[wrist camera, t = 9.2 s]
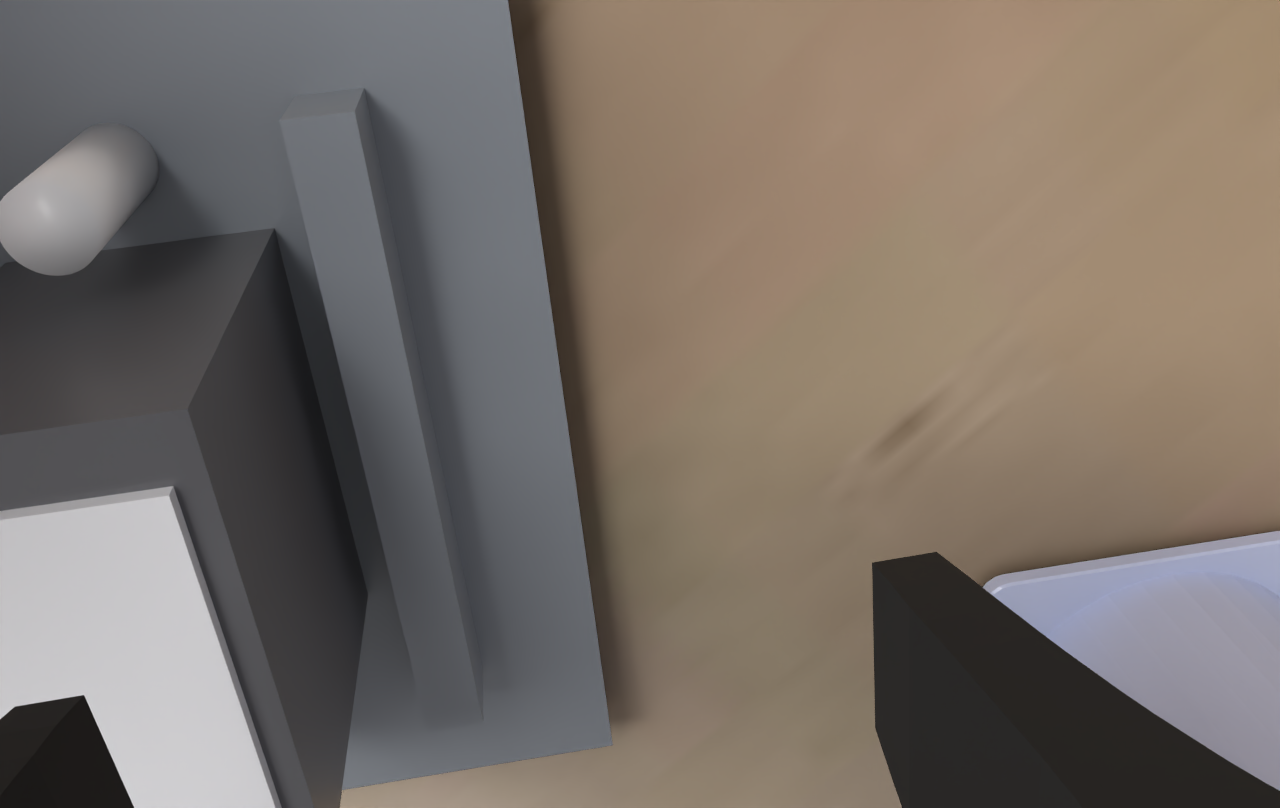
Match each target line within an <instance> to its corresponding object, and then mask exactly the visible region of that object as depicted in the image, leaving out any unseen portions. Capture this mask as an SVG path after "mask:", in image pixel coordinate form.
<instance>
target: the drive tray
mask: <svg viewBox="0 0 1280 808" xmlns="http://www.w3.org/2000/svg"><path fill="white" fill-rule="evenodd" d="M271 228H275V232H276V236H277V240H278V244H279V248H280V252H281V256H282V260H283V264H284V267H285V271H286V275H287V279H288V283H289V287H290V291H291V295H292V299H293V303H294V307H295V310H296V314H297V318H298V322H299V326H300V330H301V334H302V338H303V342H304V346H305V350H306V353H307V357H308V361H309V365H310V369H311V373H312V377H313V381H314V385H315V389H316V393H317V396H318V400H319V404H320V408H321V412H322V416H323V420H324V424H325V428H326V432H327V436H328V439H329V443H330V447H331V451H332V455H333V459H334V463H335V467H336V471H337V475H338V479H339V482H340V486H341V490H342V494H343V498H344V502H345V506H346V510H347V514H348V518H349V522H350V525H351V529H352V533H353V537H354V541H355V545H356V549H357V553H358V557H359V561H360V565H361V568H362V572H363V576H364V580H365V584H366V588H367V592H368V600H367V607H366V615H365V622H364V630H363V637H362V644H361V652H360V659H359V667H358V674H357V681H356V689H355V696H354V704H353V711H352V719H351V726H350V733H349V741H348V748H347V756H346V763H345V770H344V778H343V785H342V790H344V789H350V788H357V787H363V786H369V785H375V784H381V783H387V782H393V781H399V780H405V779H411V778H417V777H423V776H429V775H435V774H441V773H448V772H454V771H460V770H466V769H472V768H478V767H484V766H490V765H496V764H502V763H508V762H514V761H520V760H526V759H532V758H539V757H545V756H551V755H557V754H563V753H569V752H575V751H581V750H587V749H593V748H599V747H605V746H611V745H613V744H612V737H611V730H610V723H609V716H608V708H607V701H606V694H605V687H604V680H603V673H602V666H601V659H600V652H599V644H598V637H597V630H596V623H595V616H594V609H593V602H592V595H591V588H590V580H589V573H588V566H587V559H586V552H585V545H584V538H583V531H582V524H581V516H580V509H579V502H578V495H577V488H576V481H575V474H574V467H573V460H572V452H571V445H570V438H569V431H568V424H567V417H566V410H565V403H564V396H563V388H562V381H561V374H560V367H559V360H558V353H557V346H556V339H555V332H554V324H553V317H552V310H551V303H550V296H549V289H548V282H547V275H546V268H545V260H544V253H543V246H542V239H541V232H540V225H539V218H538V211H537V204H536V196H535V189H534V182H533V175H532V168H531V161H530V154H529V147H528V140H527V132H526V125H525V118H524V111H523V104H522V97H521V90H520V83H519V76H518V68H517V61H516V54H515V47H514V40H513V33H512V26H511V19H510V12H509V4H508V0H0V268H1V267H2V266H3V265H4V264H5V263H8V262H16V261H17V262H18V263H20V264H21V265H23V266H24V267H26V268H28V269H30V270H32V271H35V272H37V273H41V274H45V275H51V276H63V275H69V274H72V273H75V272H78V271H80V270H82V269H83V268H85V267H86V266H87V265H88V264H89V263H91V261H92V260H93V259H94V258H95V257H96V256H97V254H98V253H99V252H100V251H101V250H109V249H116V248H124V247H132V246H139V245H147V244H155V243H163V242H170V241H178V240H186V239H193V238H201V237H209V236H217V235H224V234H232V233H240V232H248V231H255V230H263V229H271Z"/></svg>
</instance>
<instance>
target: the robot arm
mask: <svg viewBox="0 0 1280 808" xmlns="http://www.w3.org/2000/svg"><path fill="white" fill-rule="evenodd" d="M872 573H873V626H874V679H875V728H876V731H877V734H878V737H879V740H880V743H881V746H882V749H883V752H884V755H885V758H886V761H887V764H888V767H889V770H890V773H891V776H892V779H893V782H894V785H895V788H896V791H897V794H898V797H899V799H900V802H901V805H902V808H1280V531H1274V532H1268V533H1261V534H1255V535H1249V536H1242V537H1236V538H1230V539H1223V540H1217V541H1211V542H1204V543H1198V544H1192V545H1185V546H1179V547H1173V548H1166V549H1160V550H1154V551H1147V552H1141V553H1135V554H1128V555H1122V556H1116V557H1109V558H1103V559H1097V560H1090V561H1084V562H1078V563H1071V564H1065V565H1059V566H1052V567H1046V568H1040V569H1033V570H1027V571H1021V572H1014V573H1008V574H1003V575H999V576H996V577H994V578H992V579H991V580H989V581H988V582H987V583H986V584H985V585H984V586H983V588H982V587H981V586H980V585H979V584H977V583H976V582H975V581H973V580H972V579H971V578H970V577H968V576H967V575H966V574H964V573H963V572H962V571H961V570H959V569H958V568H957V567H955V566H954V565H953V564H951V563H950V562H949V561H947V560H946V559H945V558H944V557H942V556H941V555H940V554H938V553H937V552H933V553H928V554H922V555H916V556H910V557H904V558H898V559H892V560H886V561H880V562H874V563H872ZM0 808H134V806H133V804H132V801H131V799H130V797H129V795H128V793H127V790H126V788H125V786H124V784H123V781H122V779H121V777H120V775H119V772H118V770H117V768H116V766H115V763H114V761H113V759H112V757H111V754H110V752H109V750H108V748H107V745H106V743H105V741H104V739H103V737H102V734H101V732H100V730H99V728H98V725H97V723H96V721H95V719H94V716H93V714H92V712H91V710H90V707H89V705H88V703H87V701H86V698H85V696H84V695H81V696H75V697H69V698H63V699H57V700H51V701H45V702H39V703H33V704H27V705H21V706H16V707H14V708H13V709H11V710H10V711H9V712H8V713H7V714H6V715H5V716H3V717H2V718H1V719H0Z"/></svg>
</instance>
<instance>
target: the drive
mask: <svg viewBox="0 0 1280 808" xmlns="http://www.w3.org/2000/svg"><path fill="white" fill-rule="evenodd" d="M367 600H368V592H367V588H366V584H365V580H364V576H363V572H362V568H361V565H360V561H359V557H358V553H357V549H356V545H355V541H354V537H353V533H352V529H351V525H350V522H349V518H348V514H347V510H346V506H345V502H344V498H343V494H342V490H341V486H340V482H339V479H338V475H337V471H336V467H335V463H334V459H333V455H332V451H331V447H330V443H329V439H328V436H327V432H326V428H325V424H324V420H323V416H322V412H321V408H320V404H319V400H318V396H317V393H316V389H315V385H314V381H313V377H312V373H311V369H310V365H309V361H308V357H307V353H306V350H305V346H304V342H303V338H302V334H301V330H300V326H299V322H298V318H297V314H296V310H295V307H294V303H293V299H292V295H291V291H290V287H289V283H288V279H287V275H286V271H285V267H284V264H283V260H282V256H281V252H280V248H279V244H278V240H277V236H276V232H275V228H271V229H263V230H255V231H248V232H240V233H232V234H224V235H217V236H209V237H201V238H193V239H186V240H178V241H170V242H163V243H155V244H147V245H139V246H132V247H124V248H116V249H109V250H101V251H100V252H99V253H98V254H97V256H96V257H95V258H94V259H93V260H92V261H91V263H89V264H88V265H87V266H86V267H85V268H83V269H82V270H80V271H78V272H75V273H72V274H69V275H63V276H51V275H45V274H41V273H37V272H35V271H32V270H30V269H28V268H26V267H24V266H23V265H21V264H20V263H18V262H17V261H16V262H8V263H5V264H4V265H3V266H2V267H1V268H0V719H1V718H2V717H3V716H5V715H6V714H7V713H8V712H9V711H10V710H11V709H13V708H14V707H16V706H21V705H27V704H33V703H39V702H45V701H51V700H57V699H63V698H69V697H75V696H81V695H84V696H85V698H86V701H87V703H88V705H89V707H90V710H91V712H92V714H93V716H94V719H95V721H96V723H97V725H98V728H99V730H100V732H101V734H102V737H103V739H104V741H105V743H106V745H107V748H108V750H109V752H110V754H111V757H112V759H113V761H114V763H115V766H116V768H117V770H118V772H119V775H120V777H121V779H122V781H123V784H124V786H125V788H126V790H127V793H128V795H129V797H130V799H131V801H132V804H133V806H134V808H339V807H340V800H341V793H342V785H343V778H344V770H345V763H346V756H347V748H348V741H349V733H350V726H351V719H352V711H353V704H354V696H355V689H356V681H357V674H358V667H359V659H360V652H361V644H362V637H363V630H364V622H365V615H366V607H367Z"/></svg>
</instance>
